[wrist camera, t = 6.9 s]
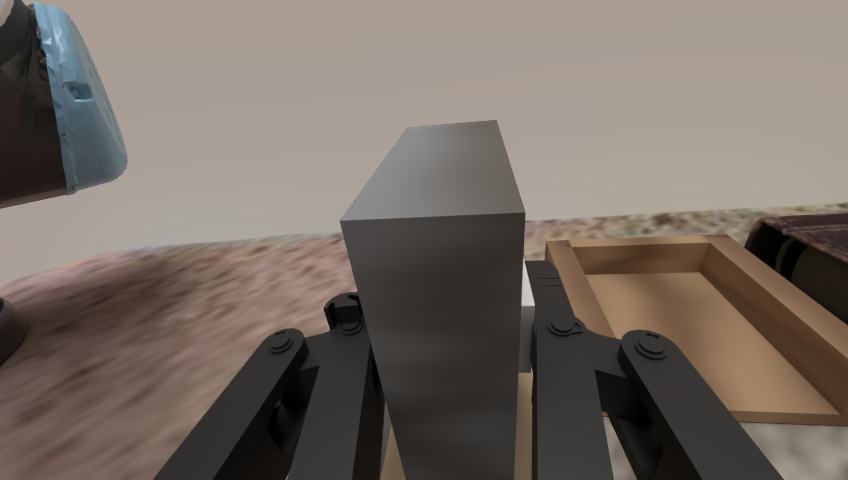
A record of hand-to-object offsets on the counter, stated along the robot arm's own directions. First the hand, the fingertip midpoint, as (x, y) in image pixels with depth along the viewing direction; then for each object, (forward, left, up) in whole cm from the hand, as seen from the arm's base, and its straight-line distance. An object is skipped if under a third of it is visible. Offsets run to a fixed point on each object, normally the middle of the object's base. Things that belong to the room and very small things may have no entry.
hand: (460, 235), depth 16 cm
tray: (+12, +4, -9) cm, 16 cm away
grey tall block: (0, -5, -8) cm, 9 cm away
